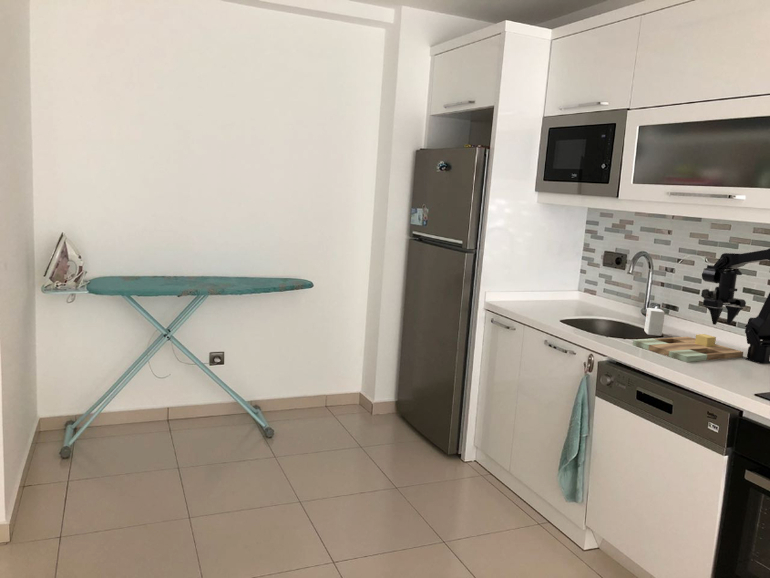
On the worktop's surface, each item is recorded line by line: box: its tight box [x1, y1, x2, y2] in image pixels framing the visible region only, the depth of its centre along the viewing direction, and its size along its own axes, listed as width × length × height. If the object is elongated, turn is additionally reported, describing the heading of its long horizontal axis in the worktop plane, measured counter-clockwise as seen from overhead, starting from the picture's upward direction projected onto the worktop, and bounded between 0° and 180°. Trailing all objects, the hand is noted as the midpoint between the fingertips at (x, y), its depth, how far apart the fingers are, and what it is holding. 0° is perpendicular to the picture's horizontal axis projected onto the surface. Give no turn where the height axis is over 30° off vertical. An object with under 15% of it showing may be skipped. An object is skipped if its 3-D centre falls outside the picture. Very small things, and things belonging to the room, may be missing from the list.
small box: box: [644, 307, 666, 337], centre depth 268 cm, size 8×6×10 cm
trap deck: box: [632, 336, 744, 363], centre depth 241 cm, size 24×32×2 cm
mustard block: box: [695, 333, 717, 346], centre depth 245 cm, size 5×5×4 cm
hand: (721, 324), depth 248 cm, fingers open, 9 cm apart
